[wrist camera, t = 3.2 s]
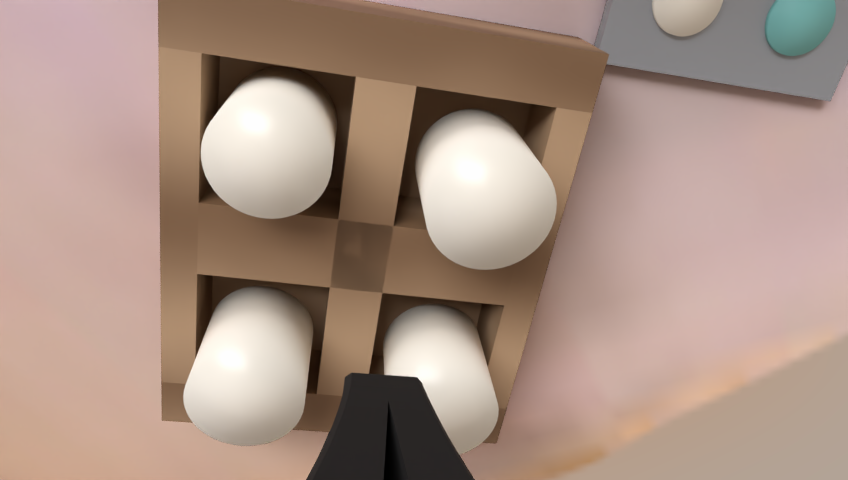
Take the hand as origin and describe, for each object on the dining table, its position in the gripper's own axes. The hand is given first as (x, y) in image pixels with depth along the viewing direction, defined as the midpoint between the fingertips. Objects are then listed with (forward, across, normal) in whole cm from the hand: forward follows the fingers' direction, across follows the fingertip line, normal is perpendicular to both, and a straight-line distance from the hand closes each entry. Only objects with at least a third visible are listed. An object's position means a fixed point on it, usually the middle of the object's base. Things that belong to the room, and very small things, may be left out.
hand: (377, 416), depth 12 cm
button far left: (+6, +3, +2) cm, 7 cm away
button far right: (+6, -2, +3) cm, 7 cm away
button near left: (+7, +3, -3) cm, 8 cm away
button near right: (+6, -2, -3) cm, 7 cm away
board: (+8, 0, 0) cm, 8 cm away
